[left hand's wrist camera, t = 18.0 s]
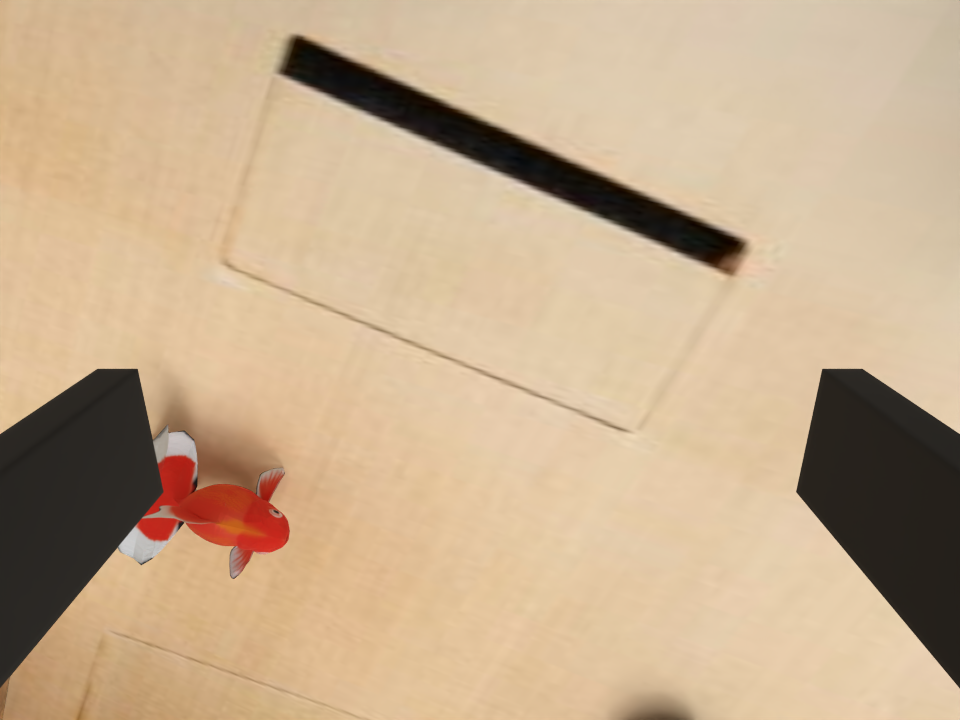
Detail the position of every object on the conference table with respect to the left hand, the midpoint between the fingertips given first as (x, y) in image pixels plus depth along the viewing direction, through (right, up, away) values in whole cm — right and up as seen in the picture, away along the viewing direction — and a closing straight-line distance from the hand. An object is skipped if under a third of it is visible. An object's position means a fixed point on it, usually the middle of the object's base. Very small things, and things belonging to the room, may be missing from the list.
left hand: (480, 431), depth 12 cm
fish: (-21, -8, +37) cm, 43 cm away
